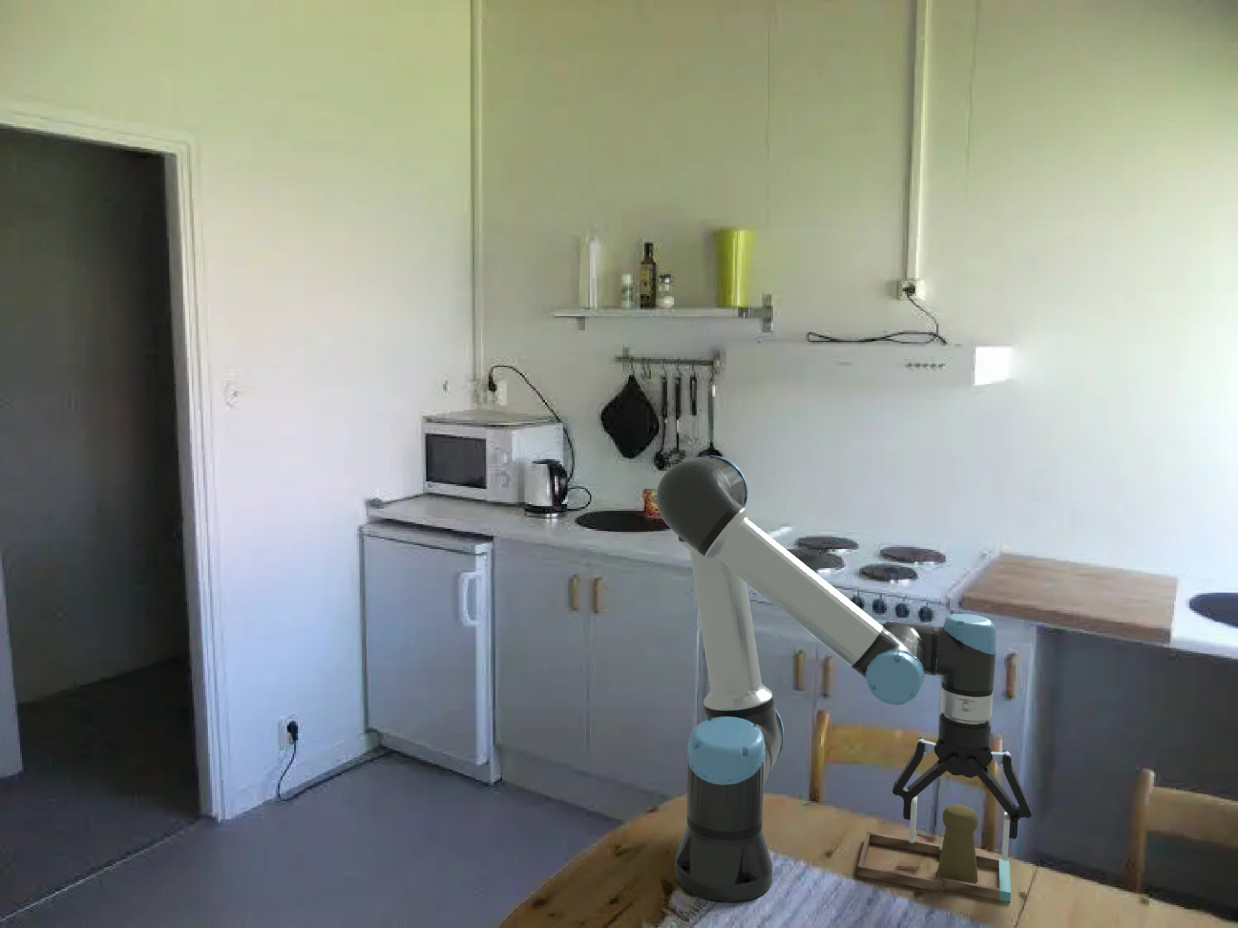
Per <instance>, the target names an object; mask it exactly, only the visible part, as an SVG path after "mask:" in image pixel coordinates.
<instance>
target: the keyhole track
mask: <svg viewBox="0 0 1238 928" xmlns="http://www.w3.org/2000/svg"><path fill="white" fill-rule="evenodd" d="M863 841H864V842H863V846H862V850H861V853H860V857H859V861H858V864H857V876H858V877H863V878H868V879H873V880H879V881H884V882H889V883H894V884H898V885H902V886H909V887H914V888H917V889H918V888H919V889H923V890H924V889H925V890H929V891H934V892H940V893H943V892H944V890H946V891H951V892H957V893H960V894H967V895H972V896H975V897H980V898H981V897H982V898H986V899H990V900H997V901H1003V902H1006V903H1007V902H1008V903H1011V894H1012V891H1011V888H1012V886H1011V869H1010V868H1011V867H1010V866H1011V865H1010V860H1009V859H1008V860H1007V861H1004V860H1002V858H999V857H992V856H986V855H982V854H977V853H976V863H977V866H980V867H985V868H990V869H995V870H998V887H993V886H987V885H984V884H983V885H982V884H978V883H976V884H973V883H968V882H963V881H958V880H953V879H947V878H942V877H939V876H936V877H935V879H934V878H930V877H925V876H924V877H923V876H919V875H915V874H909V873H903V872H901V871H895V870H889V869H883V868H878V867H874V866H867V865H865V863H866V859H867V855H868V852H869V847H870V844H877V845H882V846H888V847H893V848H898V849H903V850H907V851H908V850H909V851H914V852H919V853H926V854H931V855H935V856H936V855H937V856H938V859H940V855H941V850H942V845H943V844H937V843H933V842H932V843H931V842H926V841H922V840H921V841H920V840H917V839H915V841H914V843H910V842H909V838H903V837H900V836H899V837H898V836H895V835H887V834H882V833H877V832H871V831H866V834H865V838H864V840H863Z"/></svg>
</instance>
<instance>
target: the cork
mask: <svg viewBox="0 0 1238 928" xmlns="http://www.w3.org/2000/svg"><path fill="white" fill-rule="evenodd" d="M942 822H943V825H944V826H945V828H944V829H945V830H944V835H943V840H942V844H941V845H942V850H941V855H940V858H939V862H938V867H937V870H936V871H937V877H942V878H947V879H953V880H958V881H963V882H968V883H973V884H978V881H979V876H978V868H977V867H978V865H977V863H976V854H977V853H976V843H975V842H976V841H975V833H974V832H975V831H976V830H977V829H978V824H979V818H978V815H977V812H976V811H975V810H974V809H972V808H971V807H969V806H967V805H964V804H959V803H958V804H957V803H956V804H949V805H948V806H946V807H945V808H944V809H943V812H942Z"/></svg>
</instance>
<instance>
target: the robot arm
mask: <svg viewBox="0 0 1238 928" xmlns="http://www.w3.org/2000/svg"><path fill="white" fill-rule="evenodd" d="M661 477H662V478H661V479H660V481H659V484H658V485H657V486H658V487H657V490H656V507H657V510H658V513H659V514H660V516H661V519H662V520H663V521H664V523H665V524H666V525H667V527H668V528H669V529H670V530H672V531H673V532H674V534H676V535H677V538H678V541H679V544H681V545H682V546H683V547H685V548H686V549H688V551H689V554H690V561H691V569H692V574H693V581H694V587H695V594H696V600H697V601H696V602H697V607H698V613H699V622H700V628H701V633H702V641H703V647H704V654H705V660H706V667H707V675H708V680H709V686H710V690H709V693H708V694H707V695H706V696H705V698H704V699H703V707H704V708H703V709H704V713H705V720H703V721H701V722H700V723H699V724H696V725H695V726H694V728H693V729H692V731H691V732H690V735H689V738H688V745H687V748H686V749H687V750H686V759H687V784H686V785H687V794H686V796H687V797H686V798H687V799H686V801H687V802H686V826H685V829H684V832H683V835H682V838H681V840H680V842H679V845H678V849H677V852H676V854H675V858H674V876H675V879H676V881H677V883H678V884H679V885H680V886H681V887H682V888H683V889H684V890H686V891H687V892H688V893H690V894H692V895H695V896H697V897H700V898H703V899H706V900H710V901H716V902H724V903H725V902H729V903H730V902H733V903H734V902H735V903H736V902H744V901H747V900H752V899H755V898H757V897H760V896H762V895H763V894H765V893H766V892H767V891H768V890H769V889H770V888H771V886H772V884H773V872H774V871H773V867H774V866H773V862H772V858H771V855H770V852H769V849H768V845H767V842H766V839H765V835H764V832H763V814H764V812H763V811H764V788H765V783H766V781H767V780H768V777H769V775H770V773H771V771H772V769H773V768H774V765H775V763H776V762H777V760H778V759H779V756H780V755H781V753H782V750H783V747H784V746H783V745H784V742H785V741H784V739H785V729H784V723H783V720H782V717H781V716H780V714H779V712H778V710H777V709H776V708H775V707H776V706H775V702H774V695H773V692H772V691H771V690H770V689H769V688H768V687H766V686H765V685H764V684H763V682H762V677H761V671H760V670H761V669H760V664H759V663H760V662H759V657H758V649H757V644H756V636H755V630H754V622H753V618H752V617H753V616H752V610H751V603H750V598H749V591H748V585H749V586H751V587H752V588H753V589H754V590H756V591H757V592H758V593H759V594H761V595H762V596H763V597H764V598H766V599H767V600H768V601H769V602H770V603H771V604H772V605H774V606H775V607H777V608H778V609H779V610H780V611H781V612H783V613H784V614H785V615H787V617H789V618H790V619H791V620H792V621H793V622H795V623H796V624H797V625H799V626H800V627H801V628H803V630H805V631H806V632H807V633H809V634H810V635H811V636H813V637H814V638H815V639H816V640H817V641H818V642H820V644H822V645H824V646H825V647H826V648H827V649H828V650H830V651H831V652H832V653H833V654H834V655H836V656H837V657H838V658H839V659H841V660H842V661H843V662H845V663H846V664H847V665H849V667H851V668H852V669H853V670H855V671H856V672H857V673H858V674H859V675H860V676H861V677H863V679H865V680H866V684H867V686H868V689H869V691H870V692H871V694H872V695H873V696H874V697H875V698H876V699H877V700H879V701H880V702H881V703H884V704H886V705H887V704H888V705H892V706H899V705H905V704H908V703H909V702H911V701H912V700H914V699H915V698H916V697H917V695H918V694H919V692H920V690H921V688H922V685H923V684H924V682H925V681H924V679H925V675H928V676H933V677H934V676H938V677H941V682H940V683H941V685H940V686H941V687H940V699H939V701H940V703H939V704H940V705H939V709H940V711H941V713H940V714H939V717H938V718H939V719H938V721H939V722H938V735H937V736H938V739H937V741H936V742H932V741H928V740H926V738H925V737H923V736H920V737H919V738H918V739H917V743H916V746H915V747H916V749H915V750H914V752H913V754H912V755H911V757H910V759H908V762H906V765H905V766H904V767H903V769H902V771H901V772H900V774H899V775H898V777H897V778H896V780H895V781H894V783H893V787H892V791H891V792H892V794H893V795H894V796H899V797H900V798H902V799H903V809H902V810H903V811H902V817H903V819H904V820H907V821H909V822H910V823H909V837H908V839H909V842H910V843H914V841H915V840H916V829H917V812H918V795H919V794H920V793H921V792H922V791H924V790H925V789H926V788H927V787H928V786H930V785H931V784H932V783H933V782H934V781H935V780H936V779H938V778H939V777H941V776H942V775H943V774H944V773H946V772H948V774H951V775H952V776H963V777H966V778H968V779H973V778H975V777H978V778H979V780H980V782H982V783H983V784H984V785H985V786H986V788H987V789H988V790H989V791H990V793H991V794H992V795H993V797H994V798H995V799H996V801H997V802H998V804H1000V806H1001V807H1002V809H1003V810H1004V812H1003V814H1004V815H1003V826H1002V827H1003V829H1002V845H1001V859H1002V860H1004V861H1007V860H1009V857H1008V856H1009V845H1010V843H1009V842H1010V839H1011V840H1016V839H1017V838H1018V829H1019V828H1018V827H1019V820H1020V819H1022V818H1026V819H1030V818H1031V817H1032V814H1033V813H1032V807H1031V804H1030V803H1029V800H1028V797H1027V795H1026V793H1025V791H1024V789H1023V787H1022V785H1021V782H1020V780H1019V778H1018V776H1017V773H1016V771H1015V769H1014V767H1013V764H1012V753H1011V751H1010V750H1009V749H1004V750H1003V751H992V749H991V732H992V721H991V720H990V719H991V718H992V716H993V699H994V683H995V669H996V657H997V656H996V655H997V627H996V625H995V624H994V622H993V621H992V620H990V619H989V618H987V617H985V616H982V615H976V614H973V613H971V614H970V613H960V614H959V613H953V614H948V616H946V617H945V619H944V623H943V626H940V625H939V626H930V625H924V624H916V623H915V624H914V623H905V622H898V621H897V622H896V621H891V620H876V619H874V618H873V617H872V616H871V615H869V614H868V613H867V612H865V611H864V610H863V609H862V608H861V607H859V606H858V605H856V604H855V603H854V602H853V601H852V600H850V599H849V598H848V597H847V596H845V595H844V594H843V593H842V592H841V591H839V589H836V587H834V586H833V585H832V584H830V583H829V581H827V580H826V579H824V578H823V577H821V576H820V575H819V574H818V573H816V572H815V571H814V570H813V569H812V568H810V567H809V566H807V565H806V564H805V563H804V562H803V561H801V560H800V559H799V558H798V557H796V556H795V555H794V554H792V553H791V552H790V551H789V550H787V549H786V547H784V546H783V545H781V544H780V543H778V541H777V540H775V539H774V538H772V537H771V536H770V535H769V534H767V533H766V532H765V531H764V530H762V529H761V528H760V527H758V526H757V525H756V524H755V523H754V522H752V520H750V519H749V518H748V514H747V512H748V511H747V509H746V508H745V507H746V505H747V501H748V498H749V497H748V496H749V488H748V482H747V479H746V476H745V475H744V473H743V471H742V470H741V468H740V467H739V466H738V465H737V464H735V462H733V461H731V460H729V459H728V458H726V457H724V456H723V457H722V456H719V455H701V456H698V457H697V456H696V457H693V458H691V459H690V460H686V461H685V460H684V461H682V462H678V463H677V464H675V465H674V466H672V467H670V468H669V469H668V470H667V471H666V472H665V473H664V475H663V476H661ZM931 752H934V753H935V755H936V757H937V758H938V759H937V760H936V761H935V762H934V764H933V765H931V767H929V768H928V769H927V770H926V771H925V772H923V774H921V775H920V776H919V777H917V779H915V781H913V782H912V783H911V784H910V785H908V787H907V786H906V785H907V783H908V782H909V780H910V779H911V778H912V776H913V774H914V773H915V771H916V770H917V768H918V767H919V765H920V763H921V762H922V760H923V758H924V756H929V755H930V753H931ZM993 761H994V762H995V763H996V764H997V766H998V767H999V768H1002V769H1003V773H1004V775H1005V778H1006V780H1007V782H1008V784H1009V787H1010V789H1011V791H1012V793H1013V796H1014V797H1015V800H1016V802H1017V804H1018V806H1017V805H1016V804H1015V802H1014V801H1013V800H1012V799H1011V798H1010V796H1009V795H1008V794H1007V793H1006V791H1005V789H1003V787H1002V786H1001V784H1000V783H999V782H998V781H997V779H996V778H995V777H994V775H993V774H992V772H991V771H990V768H989V767H988V766H989V765H990V764H991V763H992V762H993Z"/></svg>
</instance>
